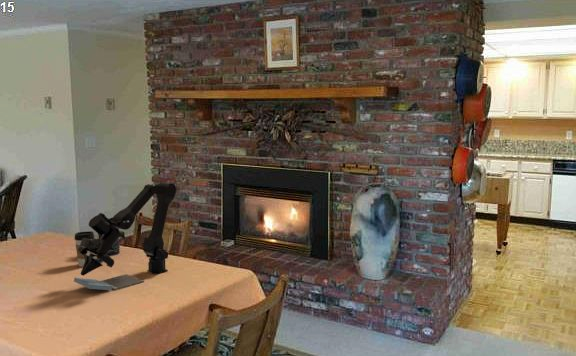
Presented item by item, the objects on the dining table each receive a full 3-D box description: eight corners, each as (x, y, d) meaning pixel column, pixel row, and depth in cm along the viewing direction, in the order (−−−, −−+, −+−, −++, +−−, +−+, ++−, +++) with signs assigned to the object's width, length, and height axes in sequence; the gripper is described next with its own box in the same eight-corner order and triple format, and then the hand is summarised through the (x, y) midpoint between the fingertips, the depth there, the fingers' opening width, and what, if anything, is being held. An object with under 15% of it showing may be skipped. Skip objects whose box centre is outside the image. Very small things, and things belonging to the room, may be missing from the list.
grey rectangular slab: (96, 279, 205) (74, 277, 198) (112, 286, 197) (90, 284, 190) (95, 284, 205) (73, 282, 198) (111, 291, 197) (88, 289, 190)
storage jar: (104, 250, 254) (103, 220, 252) (123, 251, 253) (122, 221, 251) (94, 255, 244) (93, 225, 242) (113, 256, 243) (112, 226, 241)
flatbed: (126, 275, 216) (126, 273, 216) (143, 282, 208) (143, 280, 208) (97, 282, 206) (97, 281, 206) (115, 290, 198) (115, 288, 198)
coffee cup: (88, 268, 225) (87, 235, 223) (71, 266, 227) (70, 234, 225) (99, 262, 233) (98, 230, 231) (82, 261, 235) (81, 229, 233)
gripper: (81, 225, 201) (54, 258, 194) (106, 233, 189) (78, 268, 183) (100, 241, 208) (75, 273, 201) (125, 250, 196) (99, 284, 189)
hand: (81, 274), depth 194 cm, fingers closed
